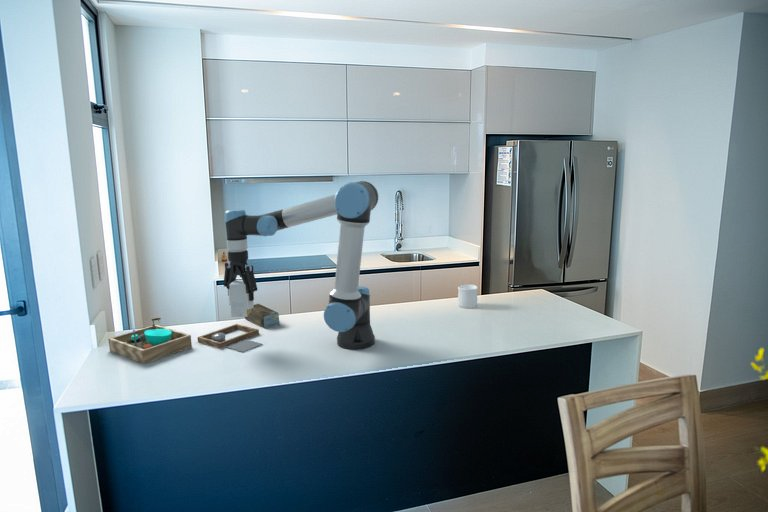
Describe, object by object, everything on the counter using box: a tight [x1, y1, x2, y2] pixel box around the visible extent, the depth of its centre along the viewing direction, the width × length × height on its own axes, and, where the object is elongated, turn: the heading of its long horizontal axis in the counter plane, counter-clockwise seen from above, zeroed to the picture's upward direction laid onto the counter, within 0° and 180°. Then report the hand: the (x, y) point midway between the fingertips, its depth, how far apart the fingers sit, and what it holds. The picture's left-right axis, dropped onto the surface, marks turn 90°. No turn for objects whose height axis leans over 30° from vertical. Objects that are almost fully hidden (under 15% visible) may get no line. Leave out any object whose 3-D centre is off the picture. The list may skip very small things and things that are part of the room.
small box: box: [229, 279, 252, 318], centre depth 203 cm, size 8×6×13 cm
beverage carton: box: [244, 303, 280, 329], centre depth 237 cm, size 8×19×7 cm, turn 41°
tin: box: [211, 333, 227, 342], centre depth 213 cm, size 5×5×3 cm
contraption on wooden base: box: [125, 317, 172, 349], centre depth 204 cm, size 14×18×15 cm
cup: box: [457, 283, 479, 309], centre depth 256 cm, size 10×10×10 cm
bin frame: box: [197, 323, 260, 350], centre depth 217 cm, size 14×20×2 cm
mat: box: [225, 338, 263, 354], centre depth 207 cm, size 10×10×1 cm
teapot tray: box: [108, 324, 193, 365], centre depth 205 cm, size 24×20×5 cm
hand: (241, 306), depth 204 cm, fingers closed on small box, 10 cm apart
